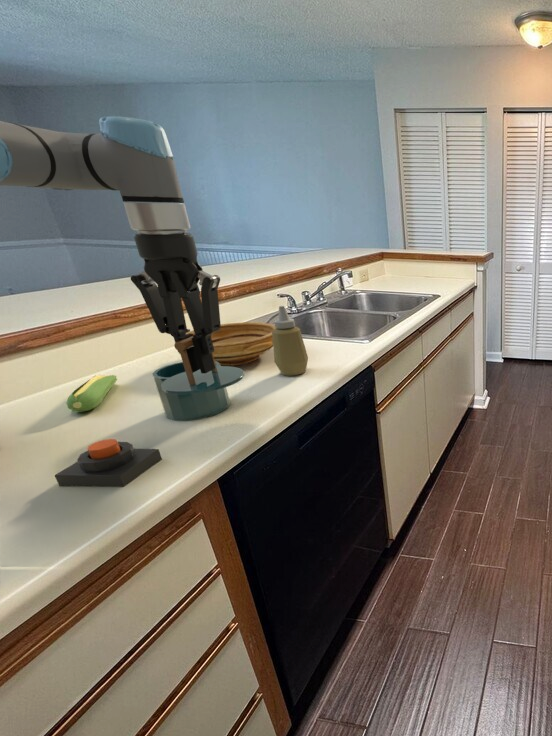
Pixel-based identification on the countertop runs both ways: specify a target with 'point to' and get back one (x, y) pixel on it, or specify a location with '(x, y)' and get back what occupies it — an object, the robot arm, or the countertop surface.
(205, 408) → the jar
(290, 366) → the squeeze bottle
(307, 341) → the countertop surface
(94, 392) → the edible corn
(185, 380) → the lid
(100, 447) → the button
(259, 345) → the wooden bowl
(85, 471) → the block
